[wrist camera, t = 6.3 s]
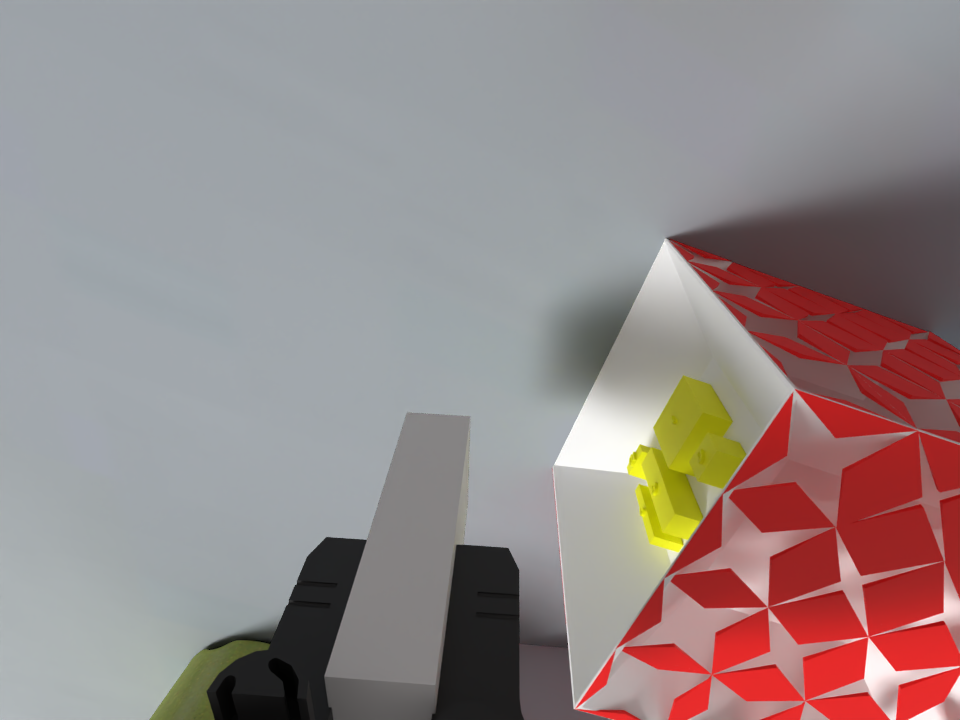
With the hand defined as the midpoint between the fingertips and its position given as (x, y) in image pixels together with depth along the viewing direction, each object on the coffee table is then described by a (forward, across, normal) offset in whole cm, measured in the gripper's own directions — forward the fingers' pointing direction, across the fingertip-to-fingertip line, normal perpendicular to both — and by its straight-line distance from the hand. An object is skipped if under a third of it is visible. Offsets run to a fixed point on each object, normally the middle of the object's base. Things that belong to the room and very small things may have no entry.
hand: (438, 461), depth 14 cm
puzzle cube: (+4, +8, 0) cm, 9 cm away
